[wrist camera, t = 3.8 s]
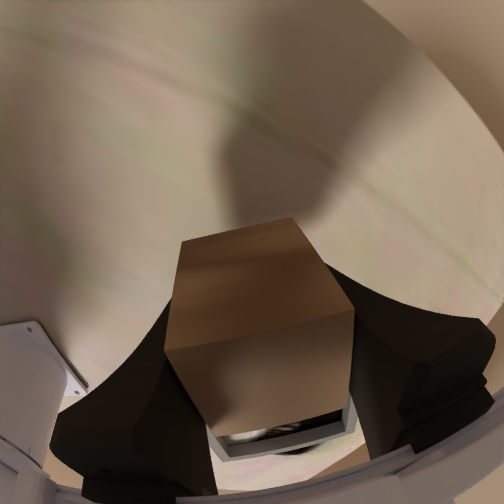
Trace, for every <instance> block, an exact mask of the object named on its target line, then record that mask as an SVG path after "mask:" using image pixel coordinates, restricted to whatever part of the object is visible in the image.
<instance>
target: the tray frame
mask: <svg viewBox="0 0 504 504" xmlns="http://www.w3.org/2000/svg"><path fill="white" fill-rule="evenodd" d="M357 417H358V415H357V412H356V409H355V406H354V403H353V400H352V397H351V395H350V392H349V390H348V399H347V407H345V408H343V413H342V420H341V421H337V422H334V423H331V424H328V425H324V426H321V427H317V428H313V429H310V430H306V431H302V432H298V433H294V434H289V435H285V436H280V437H276V438H271V439H266V440H261V441H255V442H249V443H243V444H237V445H230V446H228V445H227V443H226V442H225V440H224V439H223V437H222V436H218V437H215V436H214V434H213V433H212V431H211V430H210V428H209V426H208V425H207V423H206V427H207V435H208V442H209V446H210V447H211V448H212V450H213V451H214V452H215V453H216V455H217V456H218V457H219V458H220V460H221V461H222V462H226V461H234V460H241V459H248V458H254V457H260V456H265V455H270V454H276V453H280V452H285V451H289V450H294V449H298V448H302V447H306V446H310V445H314V444H317V443H321V442H325V441H328V440H331V439H335V438H338V437H341V436H344V435H347V434H350V433H353V432H354V430H355V426H356V422H357Z"/></svg>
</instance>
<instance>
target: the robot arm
mask: <svg viewBox="0 0 504 504" xmlns="http://www.w3.org/2000/svg"><path fill="white" fill-rule="evenodd" d="M325 265H326V266H327V268H328V269H329V270H330V272H331V273H332V275H333V276H334V278H335V279H336V281H337V282H338V284H339V285H340V287H341V288H342V290H343V291H344V293H345V294H346V296H347V297H348V299H349V300H350V302H351V303H352V305H353V306H354V308H355V314H354V333H353V348H352V360H351V371H350V381H349V392H350V395H351V397H352V400H353V403H354V406H355V409H356V412H357V415H358V418H359V421H360V424H361V428H362V431H363V434H364V437H365V441H366V445H367V448H368V452H369V456H370V461H368V462H365V463H362V464H359V465H357V466H354V467H351V468H348V469H345V470H342V471H338V472H335V473H332V474H329V475H325V476H322V477H318V478H314V479H310V480H306V481H302V482H298V483H294V484H289V485H285V486H280V487H274V488H269V489H263V490H257V491H250V492H243V493H235V494H226V495H218V491H217V486H216V482H215V477H214V472H213V467H212V461H211V455H210V449H209V442H208V435H207V427H206V422H205V420H204V419H203V417H202V416H201V414H200V413H199V411H198V409H197V408H196V406H195V404H194V403H193V401H192V400H191V398H190V396H189V395H188V393H187V391H186V390H185V388H184V386H183V384H182V383H181V381H180V379H179V378H178V376H177V374H176V372H175V370H174V369H173V367H172V365H171V363H170V361H169V360H168V358H167V356H166V354H165V352H164V346H165V339H166V332H167V325H168V318H169V312H170V306H171V299H172V298H171V299H170V301H169V302H168V304H167V305H166V307H165V308H164V310H163V311H162V313H161V315H160V316H159V318H158V319H157V321H156V322H155V324H154V325H153V327H152V328H151V329H150V331H149V332H148V333H147V335H146V336H145V337H144V339H143V340H142V342H141V343H140V344H139V345H138V347H137V348H136V349H135V350H134V352H133V353H132V354H131V355H130V356H129V357H128V358H127V359H126V361H125V362H124V363H123V364H122V365H121V366H120V367H119V368H118V369H117V370H116V371H115V372H113V373H112V374H111V375H110V376H109V377H108V378H107V379H106V380H105V381H104V382H103V383H101V384H100V385H99V386H98V387H97V388H95V389H94V390H93V391H92V392H90V393H89V394H88V395H87V393H88V390H87V389H86V387H85V386H84V385H83V384H82V383H81V381H80V380H79V379H78V378H77V376H76V375H75V374H74V373H73V371H72V370H71V369H70V367H69V366H68V365H67V363H66V362H65V361H64V359H63V358H62V357H61V355H60V354H59V352H58V351H57V350H56V348H55V347H54V345H53V344H52V342H51V341H50V339H49V338H48V336H47V335H46V333H45V332H44V330H43V329H42V327H41V326H40V324H39V323H38V322H36V321H28V322H22V323H16V324H9V325H3V326H0V504H455V502H454V500H453V499H454V498H456V497H457V496H459V495H460V494H462V493H463V492H465V491H466V490H468V489H469V488H471V487H472V486H474V485H475V484H477V483H478V482H479V481H481V480H482V479H483V478H485V477H486V476H488V475H489V474H490V473H491V472H493V471H494V470H495V469H497V468H498V467H499V466H500V465H502V464H503V463H504V387H503V388H501V389H500V390H499V391H497V392H496V393H495V394H493V395H492V396H491V395H490V393H489V392H488V391H487V389H486V388H485V386H484V385H485V384H486V383H487V379H486V378H485V377H484V375H483V374H482V373H483V371H484V369H485V368H486V366H487V364H488V362H489V360H490V358H491V356H492V354H493V351H494V349H495V343H496V338H495V335H494V334H493V333H492V332H491V331H490V330H489V329H488V328H487V327H486V325H485V324H484V323H483V322H482V321H481V320H480V319H479V318H469V317H459V316H451V315H446V314H441V313H435V312H431V311H427V310H423V309H420V308H416V307H413V306H409V305H406V304H403V303H401V302H398V301H396V300H393V299H390V298H388V297H385V296H383V295H381V294H379V293H377V292H375V291H373V290H371V289H369V288H367V287H365V286H363V285H361V284H359V283H357V282H356V281H354V280H352V279H350V278H349V277H347V276H345V275H344V274H342V273H341V272H339V271H337V270H336V269H334V268H332V267H331V266H329V265H328V264H326V263H325ZM63 396H85V397H83V398H82V399H81V400H79V401H78V402H76V403H74V404H73V405H71V406H70V407H68V408H67V409H65V410H63V411H62V412H60V413H58V411H59V408H60V405H61V402H62V399H63ZM57 414H58V416H57ZM56 417H57V419H56ZM55 421H56V422H55ZM54 424H55V426H54ZM53 427H54V429H53ZM52 431H53V433H52ZM51 434H52V436H51ZM50 438H51V440H50ZM49 441H50V444H49ZM48 445H49V447H50V449H51V451H52V453H53V454H54V455H55V457H57V458H58V459H59V460H60V461H61V462H63V463H64V464H66V465H67V466H68V467H70V468H71V469H73V470H74V471H76V472H77V473H79V474H80V475H82V476H83V477H84V479H83V486H82V489H78V488H73V487H68V486H63V485H59V484H56V482H54V481H53V480H51V479H50V475H49V474H48V473H46V472H45V471H43V470H42V469H43V465H44V461H45V457H46V453H47V449H48Z"/></svg>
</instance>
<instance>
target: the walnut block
mask: <svg viewBox="0 0 504 504" xmlns="http://www.w3.org/2000/svg"><path fill="white" fill-rule="evenodd" d="M354 314H355V308H354V306H353V305H352V303H351V302H350V300H349V299H348V297H347V296H346V294H345V293H344V291H343V290H342V288H341V287H340V285H339V284H338V282H337V281H336V279H335V278H334V276H333V275H332V273H331V272H330V270H329V269H328V268H327V266H326V265H325V263H324V262H323V260H322V259H321V257H320V256H319V254H318V253H317V252H316V250H315V249H314V247H313V246H312V244H311V243H310V242H309V240H308V239H307V237H306V236H305V235H304V233H303V232H302V230H301V229H300V228H299V226H298V225H297V223H296V222H295V221H294V219H293V218H292V217H291V218H286V219H282V220H277V221H272V222H267V223H263V224H258V225H254V226H249V227H244V228H240V229H235V230H231V231H226V232H222V233H217V234H213V235H209V236H204V237H200V238H195V239H191V240H187V241H183V242H182V244H181V249H180V254H179V260H178V265H177V271H176V276H175V282H174V287H173V293H172V299H171V306H170V312H169V318H168V325H167V332H166V339H165V346H164V352H165V354H166V356H167V358H168V360H169V361H170V363H171V365H172V367H173V369H174V370H175V372H176V374H177V376H178V378H179V379H180V381H181V383H182V384H183V386H184V388H185V390H186V391H187V393H188V395H189V396H190V398H191V400H192V401H193V403H194V404H195V406H196V408H197V409H198V411H199V413H200V414H201V416H202V417H203V419H204V420H205V422H206V423H207V425H208V426H209V428H210V430H211V431H212V433H213V434H214V436H215V437H218V436H225V435H232V434H238V433H244V432H250V431H255V430H260V429H265V428H270V427H275V426H280V425H284V424H288V423H293V422H297V421H301V420H304V419H308V418H312V417H316V416H319V415H323V414H326V413H329V412H333V411H336V410H339V409H342V408H345V407H347V399H348V390H349V381H350V371H351V360H352V348H353V333H354Z"/></svg>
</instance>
